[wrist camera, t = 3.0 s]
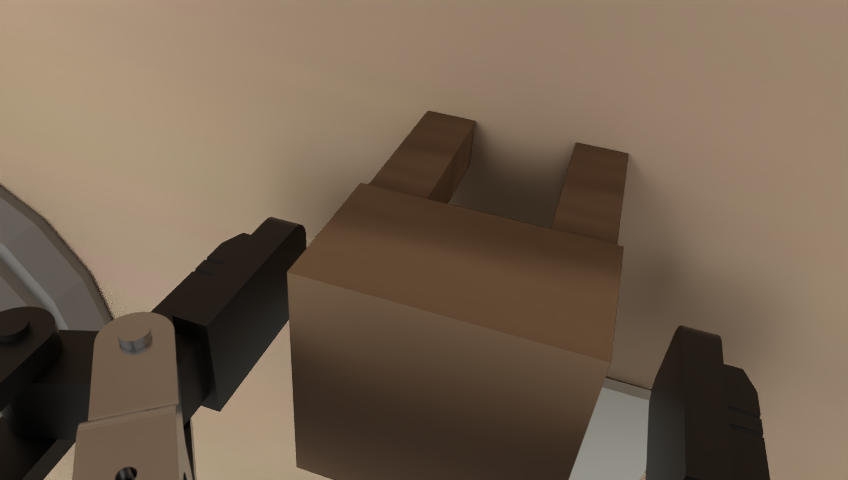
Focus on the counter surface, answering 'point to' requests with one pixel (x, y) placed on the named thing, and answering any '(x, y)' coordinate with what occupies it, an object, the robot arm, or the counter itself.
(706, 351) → the robot arm
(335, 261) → the wooden pronged block
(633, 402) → the felt pad
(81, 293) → the soap bottle
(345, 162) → the counter surface
